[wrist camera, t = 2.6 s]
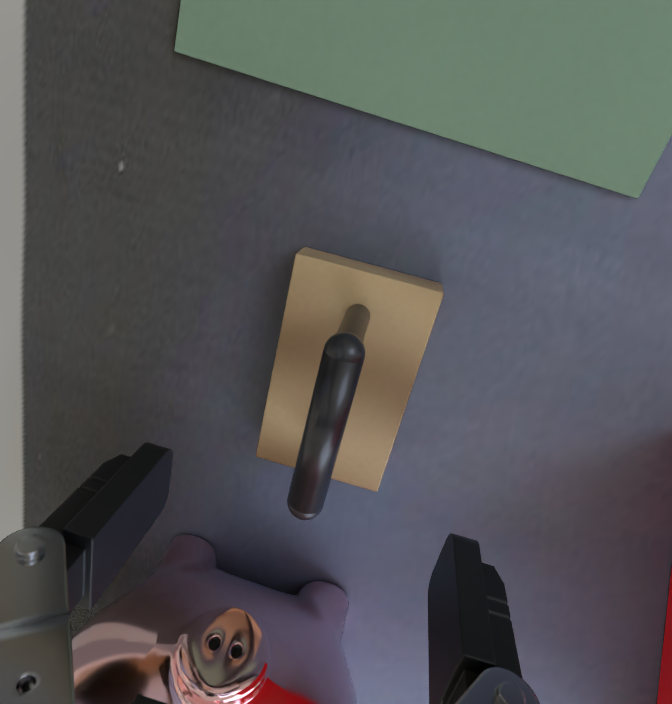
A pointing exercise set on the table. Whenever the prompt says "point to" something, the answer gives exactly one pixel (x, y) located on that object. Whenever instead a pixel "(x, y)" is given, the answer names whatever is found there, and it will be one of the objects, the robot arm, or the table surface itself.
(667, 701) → the miniature room diorama
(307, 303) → the birch board
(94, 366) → the table surface
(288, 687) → the piggy bank
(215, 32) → the mat
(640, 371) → the table surface
